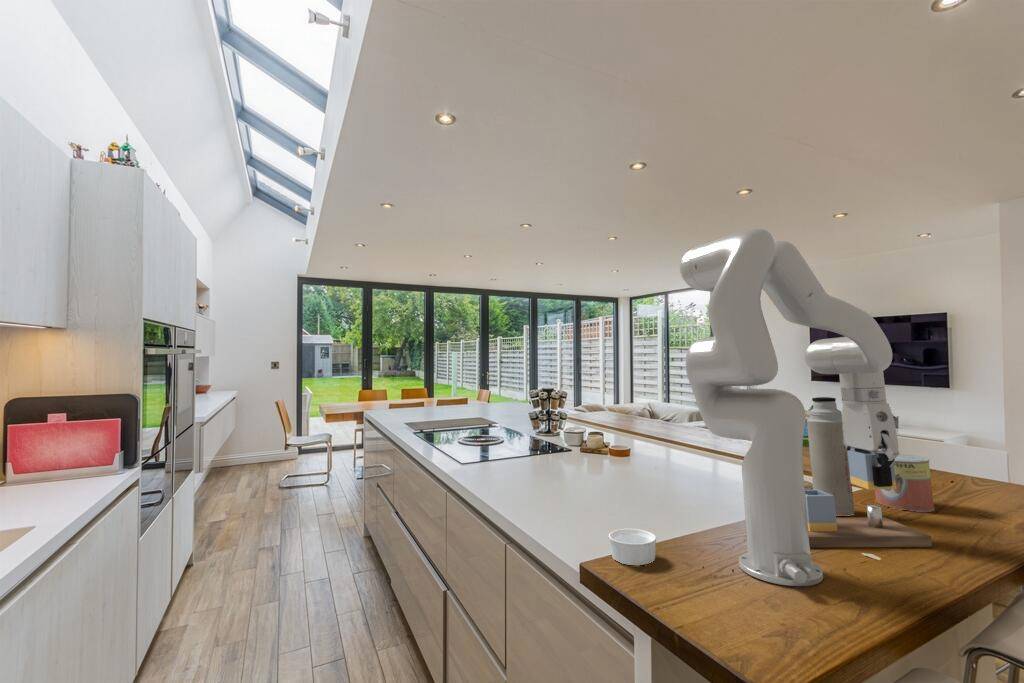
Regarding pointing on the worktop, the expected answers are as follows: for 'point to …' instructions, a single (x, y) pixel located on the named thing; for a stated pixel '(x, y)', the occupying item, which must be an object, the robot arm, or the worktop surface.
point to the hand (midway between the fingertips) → (872, 481)
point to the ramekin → (632, 546)
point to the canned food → (909, 485)
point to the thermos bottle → (829, 454)
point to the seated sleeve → (820, 511)
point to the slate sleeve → (865, 470)
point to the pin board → (869, 533)
